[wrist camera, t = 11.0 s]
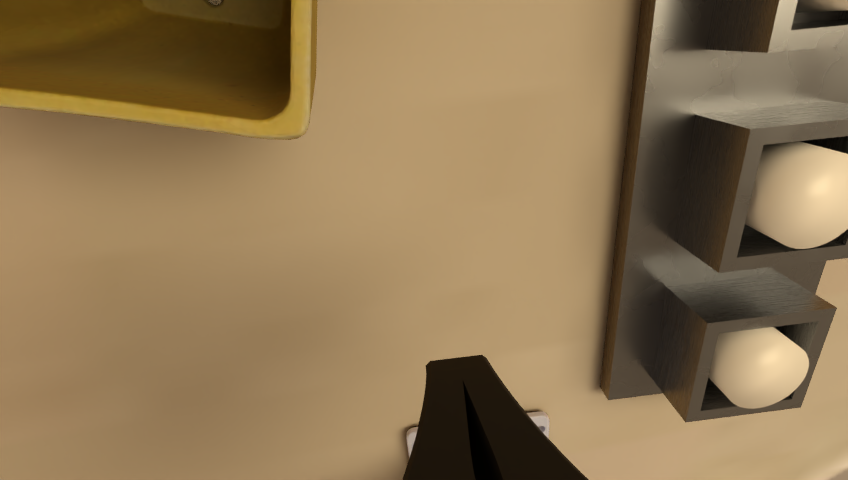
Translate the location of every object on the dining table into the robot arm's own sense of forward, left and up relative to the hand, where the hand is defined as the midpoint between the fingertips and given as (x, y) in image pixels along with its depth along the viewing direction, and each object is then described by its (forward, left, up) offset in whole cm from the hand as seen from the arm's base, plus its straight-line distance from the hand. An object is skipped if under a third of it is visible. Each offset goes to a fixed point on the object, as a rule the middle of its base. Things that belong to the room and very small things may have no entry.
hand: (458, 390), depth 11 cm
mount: (+1, -14, -10) cm, 17 cm away
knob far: (-7, -14, -9) cm, 18 cm away
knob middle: (+1, -14, -9) cm, 17 cm away
